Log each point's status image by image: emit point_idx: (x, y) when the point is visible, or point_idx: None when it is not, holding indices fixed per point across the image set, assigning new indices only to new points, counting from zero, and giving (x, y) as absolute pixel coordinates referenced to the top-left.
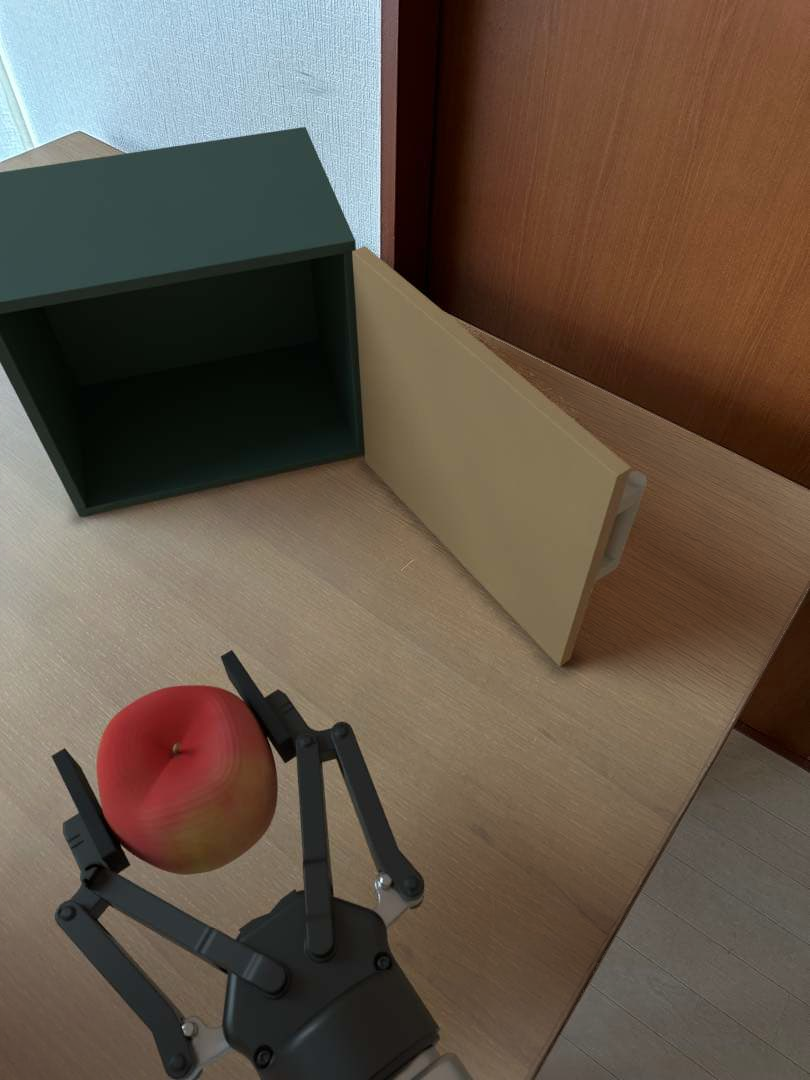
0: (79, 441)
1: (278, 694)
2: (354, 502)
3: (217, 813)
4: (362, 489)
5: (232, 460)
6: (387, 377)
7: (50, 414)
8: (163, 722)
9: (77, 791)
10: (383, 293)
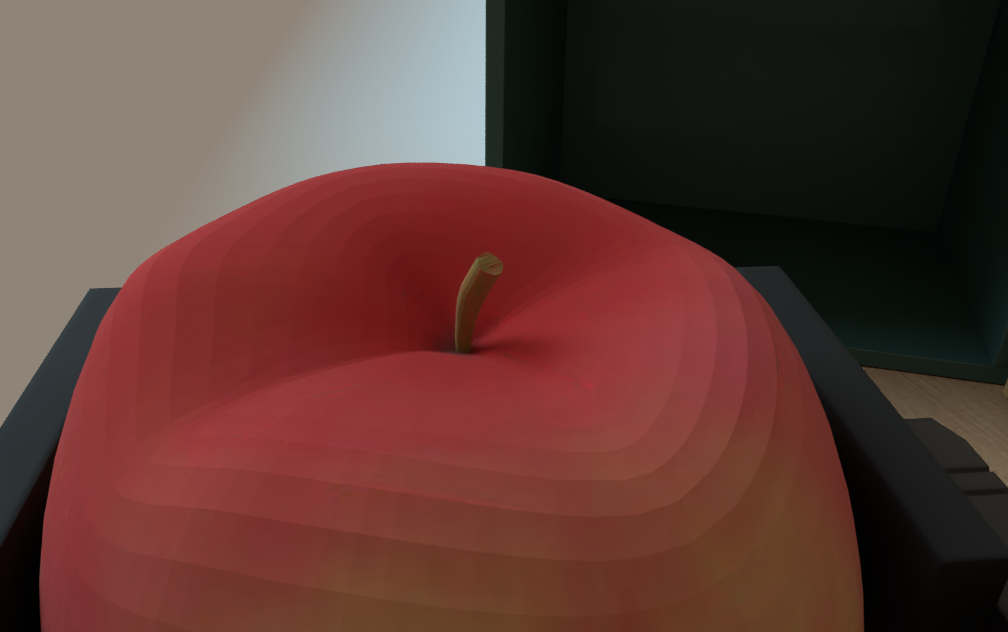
0: None
1: (932, 432)
2: (970, 441)
3: None
4: (990, 428)
5: None
6: None
7: (515, 124)
8: (472, 226)
9: (57, 385)
10: None
